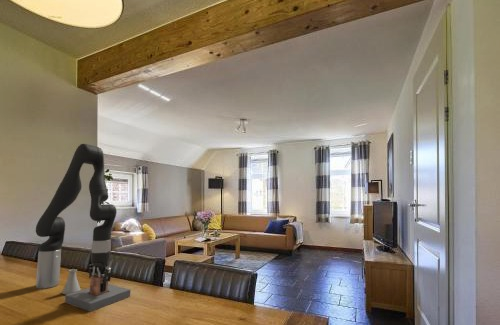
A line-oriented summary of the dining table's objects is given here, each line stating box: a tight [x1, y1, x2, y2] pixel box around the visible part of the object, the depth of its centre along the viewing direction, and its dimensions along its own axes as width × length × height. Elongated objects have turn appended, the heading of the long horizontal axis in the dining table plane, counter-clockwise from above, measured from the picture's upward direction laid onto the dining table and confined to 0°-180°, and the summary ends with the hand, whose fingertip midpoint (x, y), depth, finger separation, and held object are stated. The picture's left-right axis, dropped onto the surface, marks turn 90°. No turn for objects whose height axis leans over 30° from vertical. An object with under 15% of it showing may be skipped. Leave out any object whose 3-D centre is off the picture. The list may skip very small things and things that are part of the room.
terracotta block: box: [89, 273, 109, 296], centre depth 122 cm, size 5×5×8 cm
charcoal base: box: [64, 283, 131, 313], centre depth 121 cm, size 18×18×3 cm
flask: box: [61, 268, 82, 295], centre depth 130 cm, size 7×7×10 cm
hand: (98, 290), depth 122 cm, fingers closed on terracotta block, 5 cm apart
